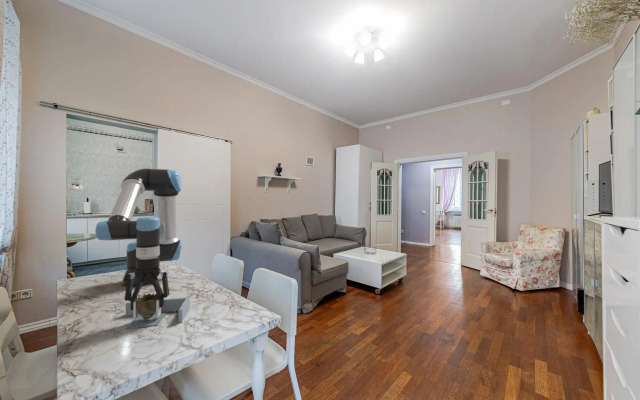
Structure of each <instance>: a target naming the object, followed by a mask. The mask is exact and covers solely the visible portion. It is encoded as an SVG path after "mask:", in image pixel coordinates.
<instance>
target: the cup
mask: <svg viewBox="0 0 640 400" xmlns="http://www.w3.org/2000/svg"><path fill="white" fill-rule="evenodd" d="M158 299H159V298H158V296H157V294H156V293H152V294H151V293H147V294H143V296H142V297H141V296H137V298H136V303H137V309H138V312H139V315H142V318H143V319H148V318H151V317H152V316H153V315H154V314H155V313H153V312H155V311H156V300H158Z"/></svg>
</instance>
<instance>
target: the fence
mask: <svg viewBox="0 0 640 400" xmlns="http://www.w3.org/2000/svg"><path fill="white" fill-rule="evenodd" d="M190 299H191V298H190V297H187V296H185V297H174V298H164V305H163V307H161V313H167V312H168V313H169V312H178V324H182V323H184V322H183V321H185V318H186V316H187V314H188V313H189V311H190V305H191V303H190V302H191V301H190ZM153 313H154V314H156V311H155V312H153ZM125 316H133V310H131V302H130V301H126V303H125Z"/></svg>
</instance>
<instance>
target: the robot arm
mask: <svg viewBox="0 0 640 400" xmlns="http://www.w3.org/2000/svg"><path fill="white" fill-rule="evenodd" d="M120 189H121V190H120V192H119V195H118V197H117V198H116V201H115V203H114V206H113V208H112V210H111V212H110V215H109V217H108V220H102V221H99V222H97V224H96V226H95V237H96V238H97V240H99V241H119V240H121V241H123V240H134V241H131V242H129V243H128V244H127V245H126V270H125V273H124V276H123V278H122V280H121V281H122V284H121V285H123V286H124V287H125V292H124V294H125V295H124V301H126V302H131V310H133V315H132V318H133V319H132V321H133V320H134V319H136V318H137V317H138V316H139V315H140V314H139V312H138V309H137V303H136V298H138V297H139V296H138V295H139V293H140V291H141V289H142V287H143V285H148V284H151V285H152V286H153V288H154V291H155V294H157V296H158V298H159V299H158V300H156V313H155V314H156V317H159V316H160V314H161V313H162V312H161V307H163V305H164V299H167V298H168V297H169V295H170V289H169V288H170V287H169V279H168V276H169V270H161V269H160V263H163V262H172V261H178V260H179V259H180V258H181V252H182V246H183V240H181V239H180V236H178V235H177V216H176V215H177V213H176V212H177V209H176V207H177V206H176V197H177V196H178V195H179V193H180V192H182V181H181V176H180V172H179V171H178V170H175V169H174V170H172V169H160V168H141V169H137V170H135V171H133V172H131V173H129V174H128V175H126V176H125V178H124V179H123V180H122V182H121V183H120ZM145 191H146V192H147V191H148V192H153V196H155V197H156V200H157V201H156V202H157V203H156V204H157V216H145V217H144V216H143V217H138V218H137V219H136V220H132V219H133V216H134V215H135V214H134V213H135V210H136V208H137V205H138V201H139V199H140V197H141V195H143V193H144V192H145ZM159 275H160V277H161V283H162V287H161V284H160V281H159V278H158V277H159ZM133 287H135V288H134V290H133Z"/></svg>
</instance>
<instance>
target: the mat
mask: <svg viewBox="0 0 640 400" xmlns="http://www.w3.org/2000/svg"><path fill="white" fill-rule="evenodd" d="M166 314H167V312H161V314H160V316H159V317H156V313H154V315H153V316H152V317H151V318H148V319H143V318H142V315H141V314H139V316H138V317H137V318H136V319H134V320H133V319H132V321H131V322H130V323H129V325H127V326H126V328H125V330H129V329H139V328H148V327H158V325H159V324H160V322H161V321H162V320H163V318H165V316H166Z"/></svg>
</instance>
